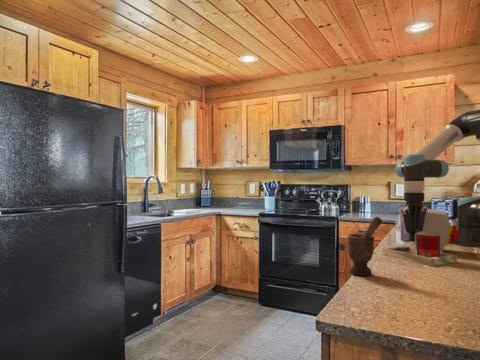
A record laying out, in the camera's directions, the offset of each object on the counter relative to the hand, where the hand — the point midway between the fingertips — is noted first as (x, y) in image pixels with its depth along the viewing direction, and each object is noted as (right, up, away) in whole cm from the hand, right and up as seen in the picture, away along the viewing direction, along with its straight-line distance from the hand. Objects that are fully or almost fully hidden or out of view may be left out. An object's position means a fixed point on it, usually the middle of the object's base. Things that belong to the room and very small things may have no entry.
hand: (414, 249), depth 144 cm
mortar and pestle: (-30, -4, -26) cm, 40 cm away
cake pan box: (+21, -4, +43) cm, 48 cm away
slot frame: (+1, -3, -2) cm, 4 cm away
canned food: (+3, -4, -6) cm, 7 cm away
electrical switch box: (+16, -4, +11) cm, 20 cm away
